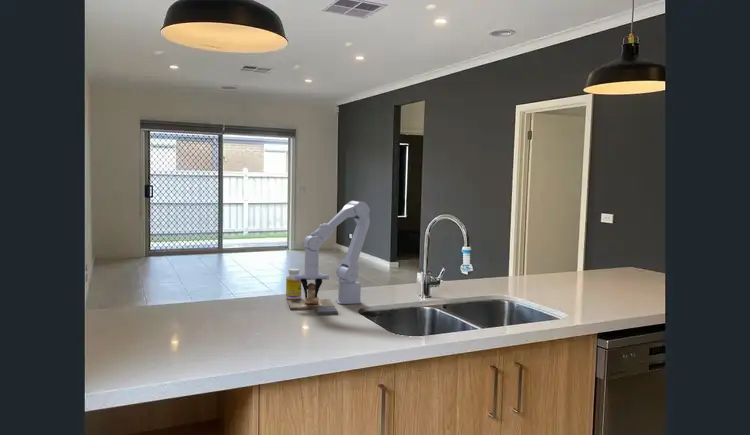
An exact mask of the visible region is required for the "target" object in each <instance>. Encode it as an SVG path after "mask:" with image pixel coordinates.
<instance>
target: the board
mask: <svg viewBox="0 0 750 435" xmlns="http://www.w3.org/2000/svg"><path fill="white" fill-rule="evenodd" d="M287 304H288V307H289V310H290V311H299V310H300V311H304V310H305V311H306V310H307V311H308V310H311V311H312V310H315V308H317V307H335V308H336V306H335V305H334V303H333V302H332V300H331V298H322V299H319V304H306V303H305V299H287Z"/></svg>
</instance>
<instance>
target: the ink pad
mask: <svg viewBox="0 0 750 435" xmlns="http://www.w3.org/2000/svg"><path fill="white" fill-rule="evenodd" d="M314 310H315V313H316V314H317V316H326V315H327V316H329V315H331V316H332V315H334V316H335V315H336V316H337V315H339V311H338V310H337V308H336V306H335V307H317V308H315V309H314Z"/></svg>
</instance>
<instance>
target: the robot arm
mask: <svg viewBox="0 0 750 435" xmlns="http://www.w3.org/2000/svg"><path fill="white" fill-rule="evenodd" d="M370 212H371V209H370V207H369V205H368V204H367V203H366V202H365V201H357V200H350V201H348V203H346V204H345V205H344V206H343V207H342V209H340V210H339V212H338V213H336V215H334V216H333V217H332V219H330V220H329V222H327V223H325V222H324V223H320V224H319V225H318V226H319V227H318V228H317V229H315V230H314V231H313V232H311V233H310V235H307V236H305V238H303V239H304V240H303V242H302V246H303V247H304V274H302V273H301V274H299V275H294V280H301V286H302V287H303V291H304V298H305V297H306V298H307V297H308V289H307V285H308V281H313V280H314V284H315V286H316V289H315V297H318V294H319V291H320V287H321V286H322V283H323V280H324V281H325V280H326V281H329V280H330V275H329V273H328V274H324V273H321V274H319V258H320V257H319V256H320V255H319V254H320V253H319V252H320V251H319V249H321V247H322V244H323V243H324V242H325V241H326V240H327V239H329V237H331V236H332V235H333V233H334V229H335V228H336V227H338V226H339V225H340V224H341V223H343V222H344V221H345V220H347V219H348V218H353V220H354V222H355V223H356V226H355V229H354V231H353V234H352V238H351V241H350V243H349V247H348V250H347V252H346V256H345V258H343V260H342V261H341V262H340V264H339V266H338V267H337V269H336V273H335V274H336V276H337V277H338V293H337V295H338V296H337V297H338V298H336V299H335V301H336V302H337V303H338V304H339V305H346V304H347V305H349V304H352V305H353V304H361V294H362V293H361V289H362V288H361V282H360V281H357V280H358V278H359V268H360V266H359V263H358V261H359V258H360V255H361V252H362V249H363V246H364V243H365V240H366V236H367V233H368V230H369V228H370V225H371V221H370V220H371V218H370Z"/></svg>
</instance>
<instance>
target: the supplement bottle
mask: <svg viewBox="0 0 750 435" xmlns="http://www.w3.org/2000/svg"><path fill="white" fill-rule="evenodd" d="M294 275H300V268H289V269H288V274H287V275H286V278H285V279H286V281H285V298H286V299H287V300H301V298H302V283H301V280H294Z"/></svg>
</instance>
